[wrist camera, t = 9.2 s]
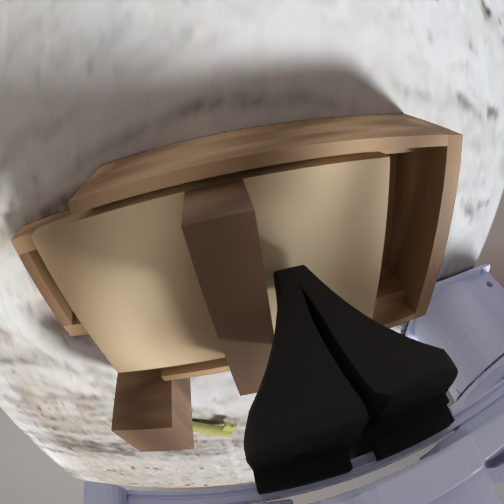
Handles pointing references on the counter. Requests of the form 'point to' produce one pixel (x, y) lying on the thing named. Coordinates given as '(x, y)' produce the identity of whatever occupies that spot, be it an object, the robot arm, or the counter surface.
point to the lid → (218, 260)
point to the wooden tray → (287, 151)
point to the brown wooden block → (153, 411)
